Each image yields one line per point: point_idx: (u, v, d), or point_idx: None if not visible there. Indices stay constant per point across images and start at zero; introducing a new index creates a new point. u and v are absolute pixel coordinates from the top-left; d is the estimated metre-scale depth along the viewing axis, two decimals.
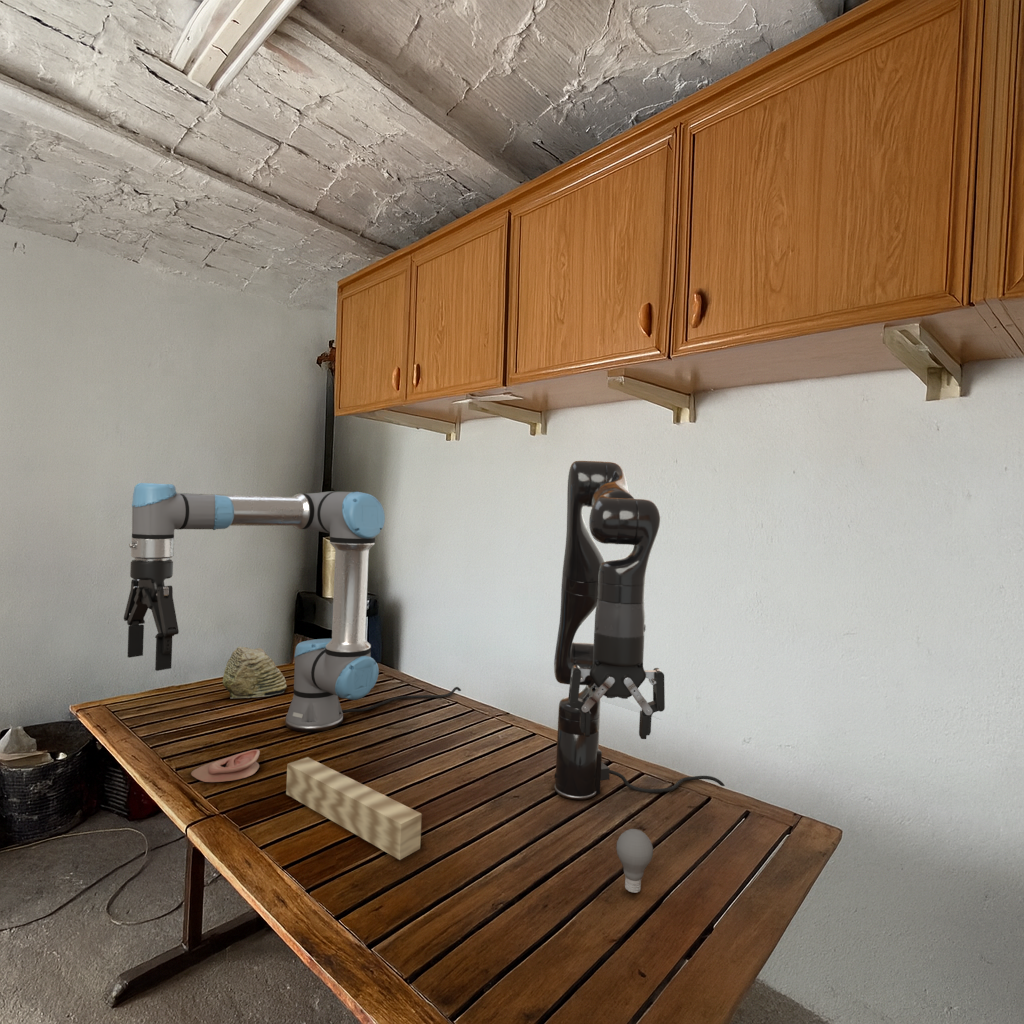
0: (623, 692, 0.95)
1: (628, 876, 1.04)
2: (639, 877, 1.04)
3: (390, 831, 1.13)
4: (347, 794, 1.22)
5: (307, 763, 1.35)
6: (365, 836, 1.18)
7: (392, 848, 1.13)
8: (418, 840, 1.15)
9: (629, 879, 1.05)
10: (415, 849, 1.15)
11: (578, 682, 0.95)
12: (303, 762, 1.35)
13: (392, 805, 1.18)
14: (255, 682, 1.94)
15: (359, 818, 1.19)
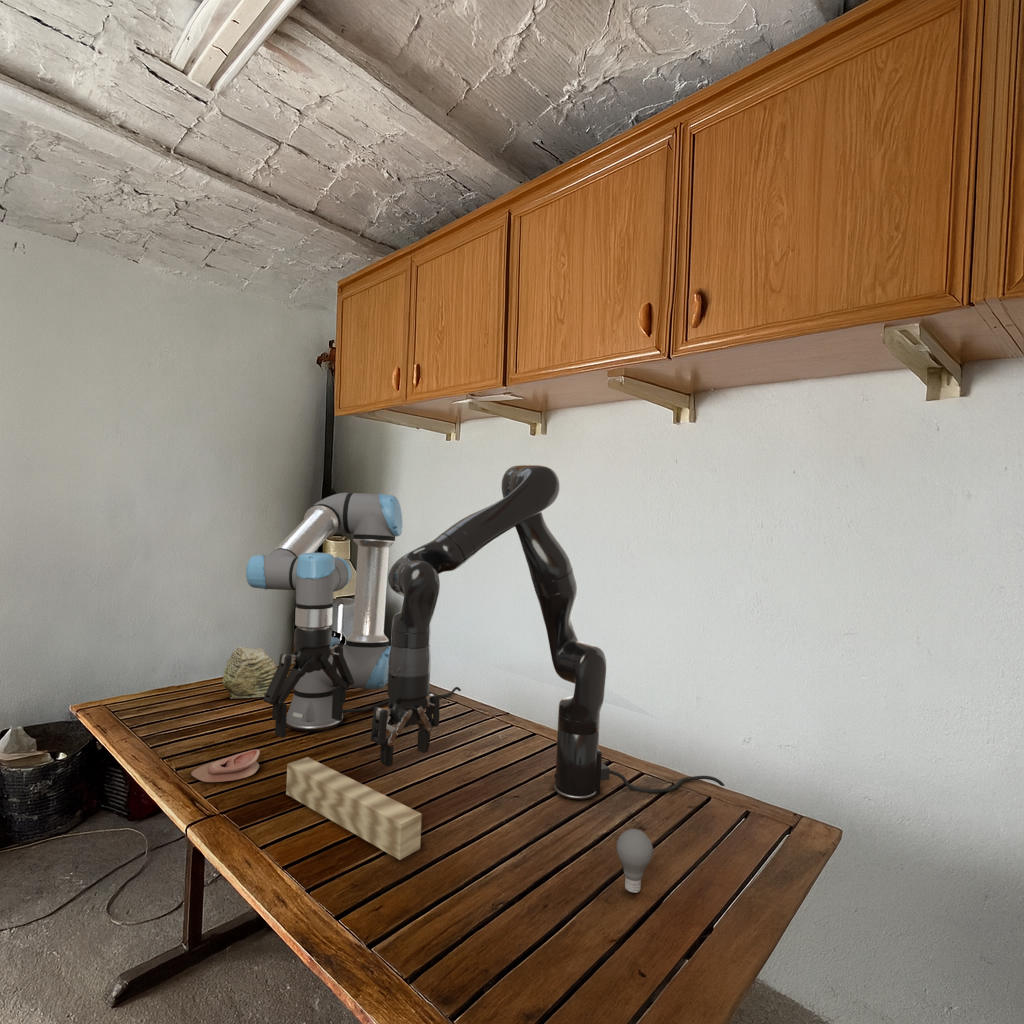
0: (414, 719, 1.15)
1: (628, 876, 1.04)
2: (639, 877, 1.04)
3: (390, 831, 1.13)
4: (347, 794, 1.22)
5: (307, 763, 1.35)
6: (365, 836, 1.18)
7: (392, 848, 1.13)
8: (418, 840, 1.15)
9: (629, 879, 1.05)
10: (415, 849, 1.15)
11: (386, 722, 1.09)
12: (303, 762, 1.35)
13: (392, 805, 1.18)
14: (255, 682, 1.94)
15: (359, 818, 1.19)
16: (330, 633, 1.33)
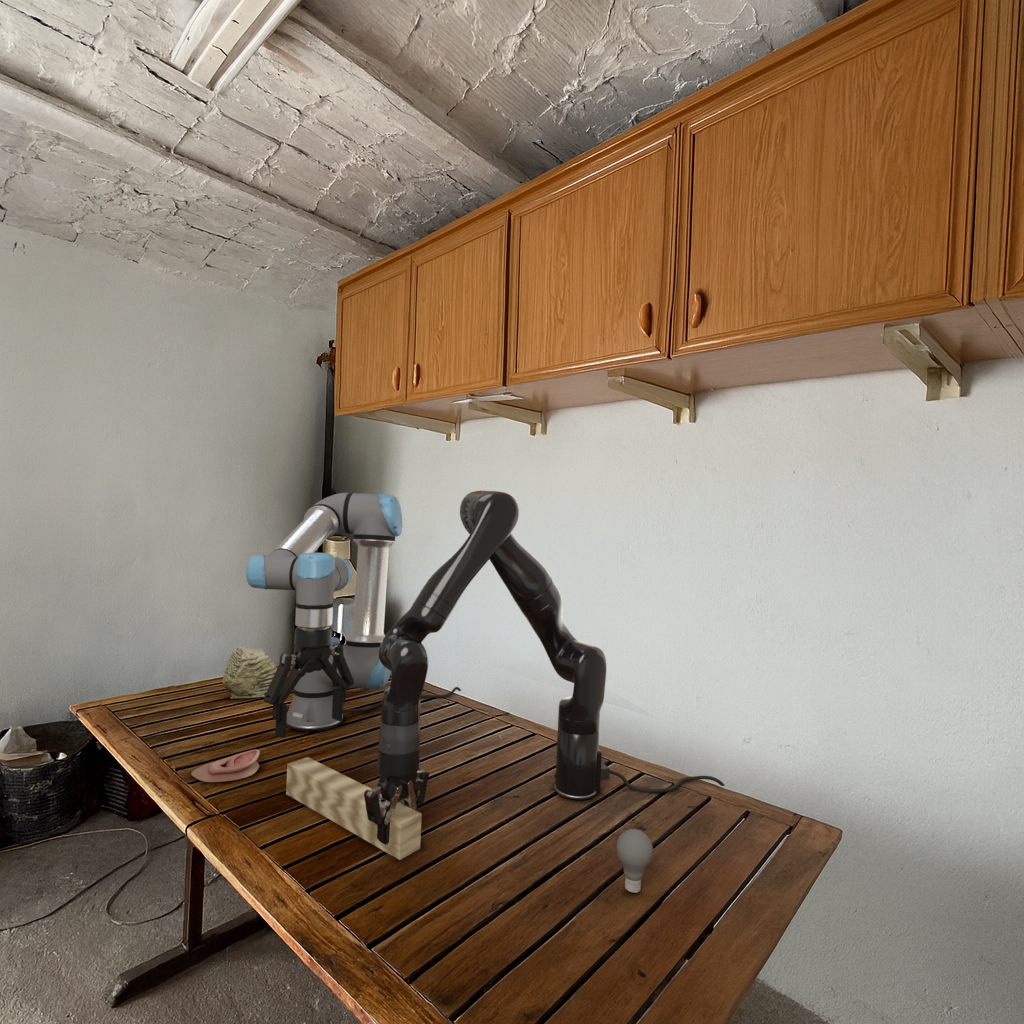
0: (405, 794, 1.16)
1: (628, 876, 1.04)
2: (639, 877, 1.04)
3: (390, 831, 1.13)
4: (347, 794, 1.22)
5: (307, 763, 1.35)
6: (365, 836, 1.18)
7: (392, 848, 1.13)
8: (418, 840, 1.15)
9: (629, 879, 1.05)
10: (415, 849, 1.15)
11: (378, 803, 1.11)
12: (303, 762, 1.35)
13: None
14: (255, 682, 1.94)
15: (359, 818, 1.19)
16: (330, 633, 1.33)
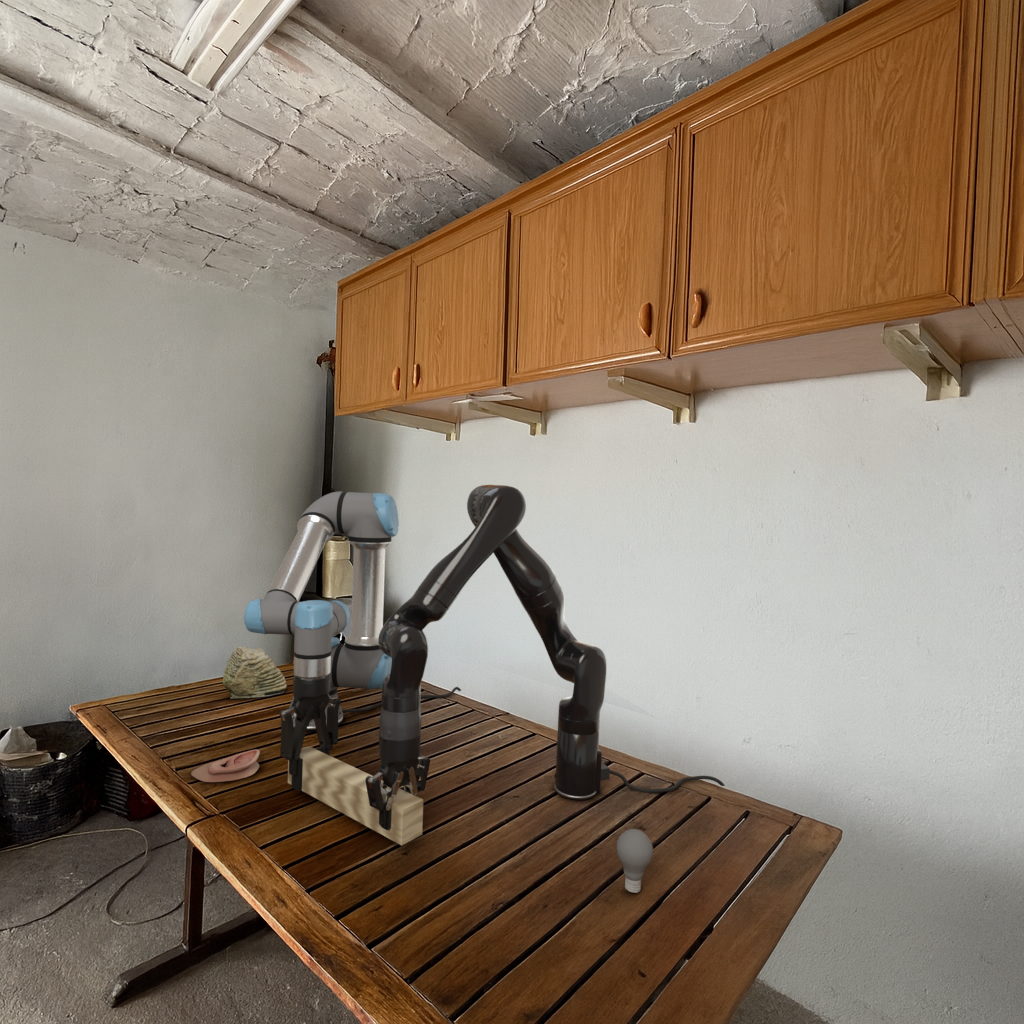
0: (406, 780, 1.16)
1: (628, 876, 1.04)
2: (639, 877, 1.04)
3: (392, 817, 1.14)
4: (348, 781, 1.22)
5: (308, 752, 1.35)
6: (367, 823, 1.18)
7: (394, 834, 1.13)
8: (420, 826, 1.15)
9: (629, 879, 1.05)
10: (417, 835, 1.15)
11: (379, 789, 1.11)
12: (304, 750, 1.36)
13: None
14: (255, 682, 1.94)
15: (361, 805, 1.19)
16: (329, 681, 1.33)
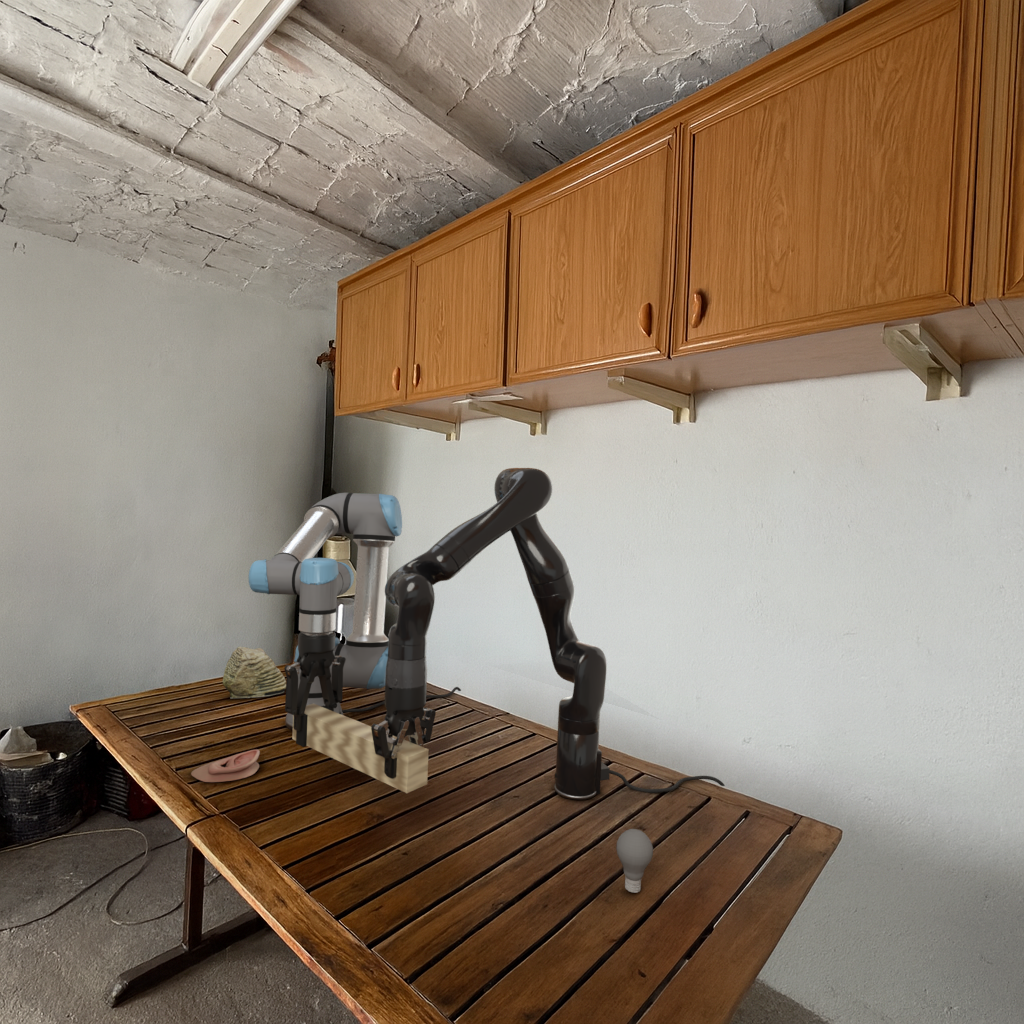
0: (411, 730, 1.16)
1: (628, 876, 1.04)
2: (639, 877, 1.04)
3: (397, 765, 1.14)
4: (354, 733, 1.22)
5: (313, 708, 1.35)
6: (372, 773, 1.18)
7: (399, 782, 1.13)
8: (425, 776, 1.16)
9: (629, 879, 1.05)
10: (422, 784, 1.15)
11: (385, 737, 1.11)
12: (309, 707, 1.36)
13: None
14: (255, 682, 1.94)
15: (366, 756, 1.19)
16: (334, 638, 1.33)
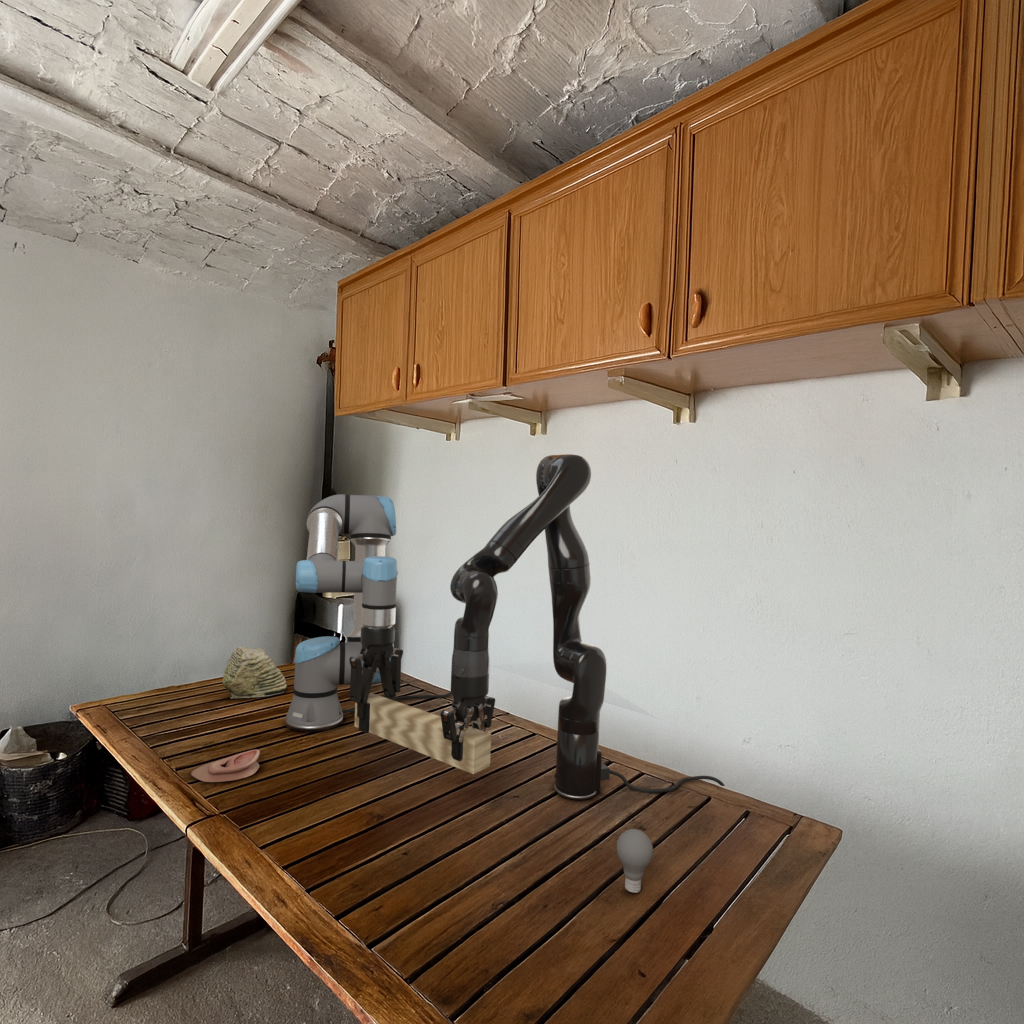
0: (475, 716, 1.25)
1: (628, 876, 1.04)
2: (639, 877, 1.04)
3: (464, 749, 1.23)
4: (418, 720, 1.31)
5: (374, 698, 1.44)
6: (437, 756, 1.27)
7: (466, 764, 1.22)
8: (488, 758, 1.25)
9: (629, 879, 1.05)
10: (486, 766, 1.24)
11: (454, 722, 1.20)
12: (370, 696, 1.45)
13: None
14: (255, 682, 1.94)
15: (431, 741, 1.28)
16: (394, 631, 1.42)
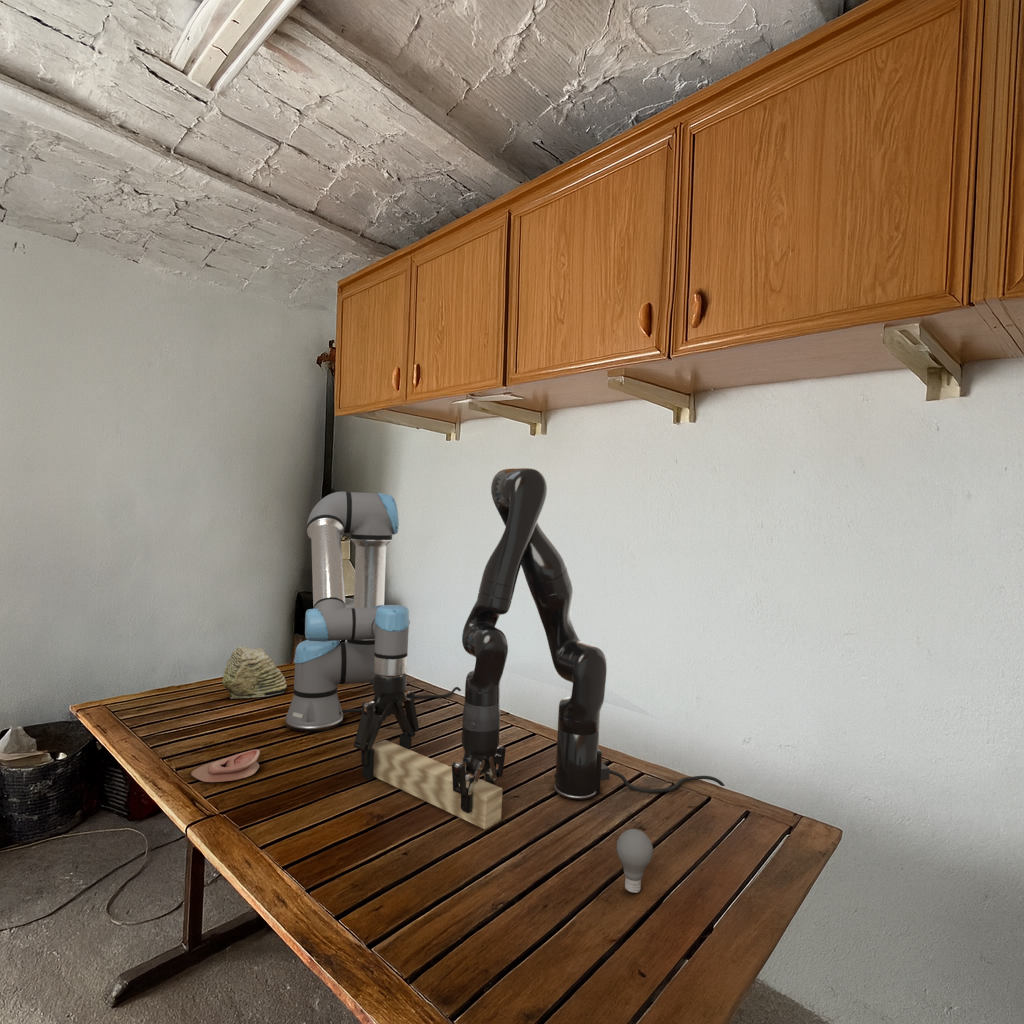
0: (486, 768, 1.28)
1: (628, 876, 1.04)
2: (639, 877, 1.04)
3: (475, 804, 1.25)
4: (431, 771, 1.33)
5: (386, 745, 1.46)
6: (449, 809, 1.29)
7: (477, 819, 1.25)
8: (499, 812, 1.27)
9: (629, 879, 1.05)
10: (497, 820, 1.26)
11: (464, 775, 1.22)
12: (382, 743, 1.47)
13: None
14: (255, 682, 1.94)
15: (443, 793, 1.30)
16: (405, 680, 1.45)
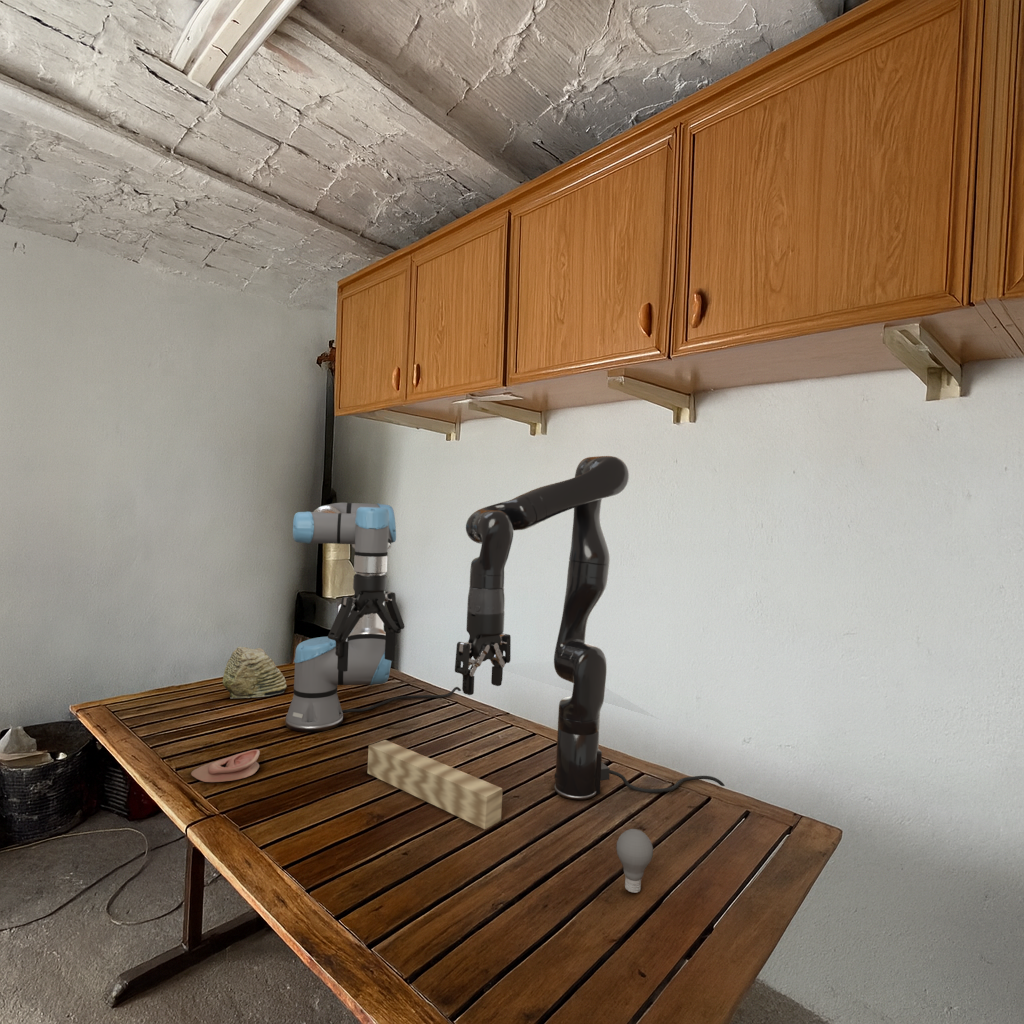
0: (491, 654, 1.27)
1: (628, 876, 1.04)
2: (639, 877, 1.04)
3: (475, 804, 1.25)
4: (431, 771, 1.33)
5: (386, 745, 1.46)
6: (449, 809, 1.29)
7: (477, 819, 1.25)
8: (499, 812, 1.27)
9: (629, 879, 1.05)
10: (497, 820, 1.26)
11: (468, 654, 1.22)
12: (382, 743, 1.47)
13: (474, 781, 1.30)
14: (255, 682, 1.94)
15: (443, 793, 1.30)
16: (385, 579, 1.46)
